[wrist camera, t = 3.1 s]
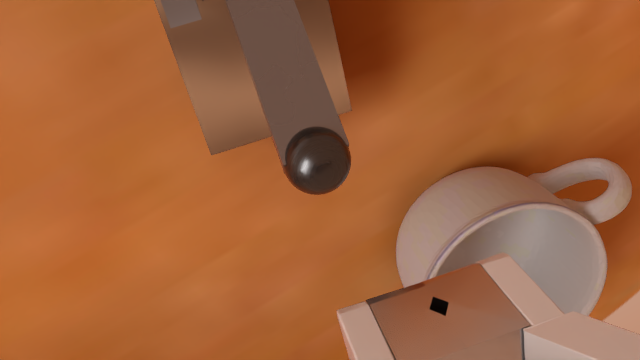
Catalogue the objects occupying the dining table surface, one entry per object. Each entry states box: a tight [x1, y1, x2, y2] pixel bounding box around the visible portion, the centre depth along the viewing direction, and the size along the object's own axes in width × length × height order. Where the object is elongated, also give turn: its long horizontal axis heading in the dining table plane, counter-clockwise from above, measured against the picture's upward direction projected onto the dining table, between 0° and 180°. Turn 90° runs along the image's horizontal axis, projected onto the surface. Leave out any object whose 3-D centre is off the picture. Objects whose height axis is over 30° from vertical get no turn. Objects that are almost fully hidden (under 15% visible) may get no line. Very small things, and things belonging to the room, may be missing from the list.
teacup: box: [396, 158, 632, 316], centre depth 33 cm, size 14×11×8 cm
